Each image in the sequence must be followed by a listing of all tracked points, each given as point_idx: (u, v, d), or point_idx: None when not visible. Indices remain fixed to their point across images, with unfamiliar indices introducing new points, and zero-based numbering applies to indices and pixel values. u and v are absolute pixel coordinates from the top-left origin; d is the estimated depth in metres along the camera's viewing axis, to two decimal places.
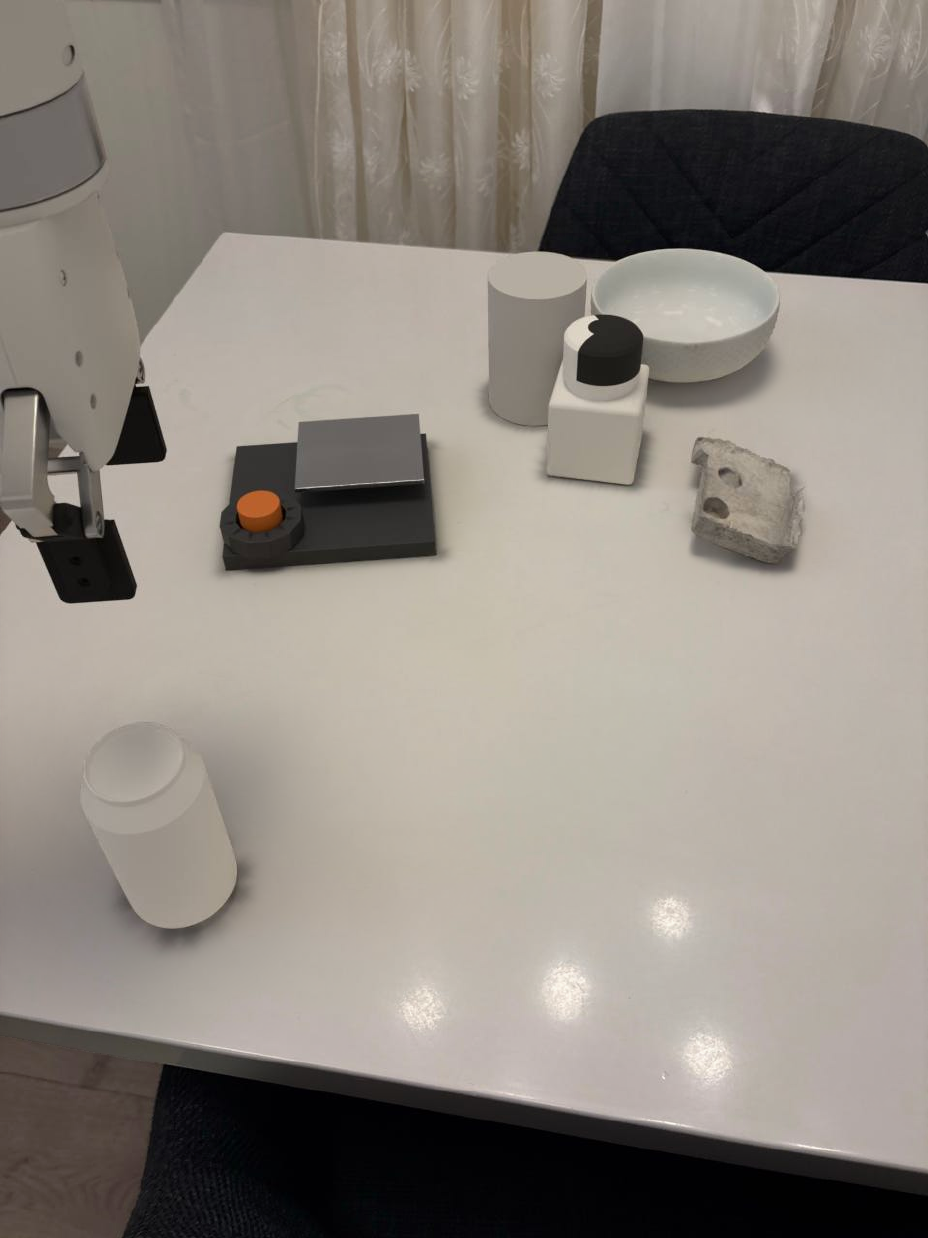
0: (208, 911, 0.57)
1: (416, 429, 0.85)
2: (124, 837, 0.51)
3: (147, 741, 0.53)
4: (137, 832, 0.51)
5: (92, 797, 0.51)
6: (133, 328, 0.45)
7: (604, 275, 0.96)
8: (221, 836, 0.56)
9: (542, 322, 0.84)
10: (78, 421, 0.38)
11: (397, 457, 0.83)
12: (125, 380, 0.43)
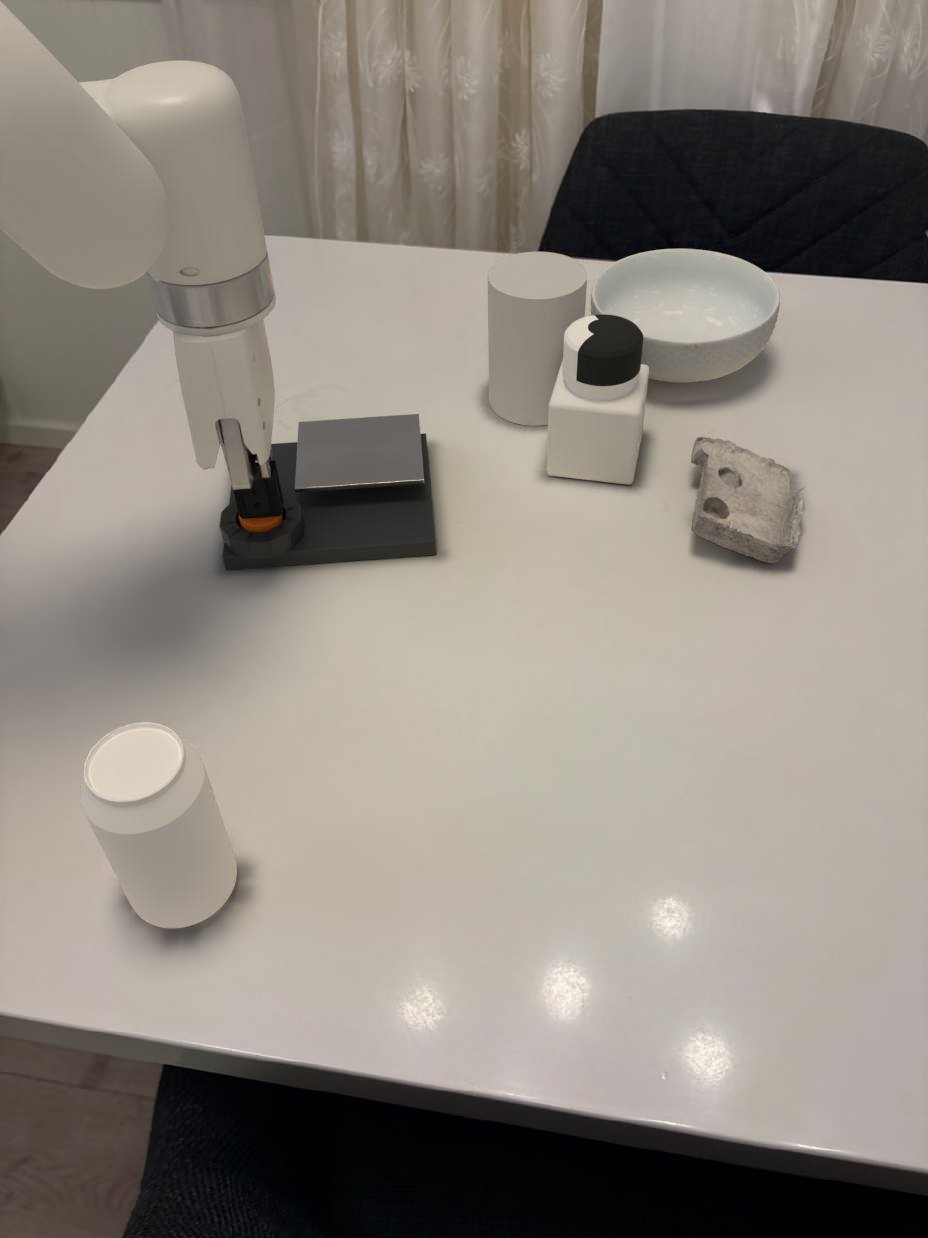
0: (208, 911, 0.57)
1: (416, 429, 0.85)
2: (124, 837, 0.51)
3: (147, 741, 0.53)
4: (137, 832, 0.51)
5: (91, 797, 0.51)
6: (273, 378, 0.74)
7: (604, 275, 0.96)
8: (221, 836, 0.56)
9: (542, 322, 0.84)
10: (256, 436, 0.68)
11: (397, 457, 0.83)
12: (272, 411, 0.72)
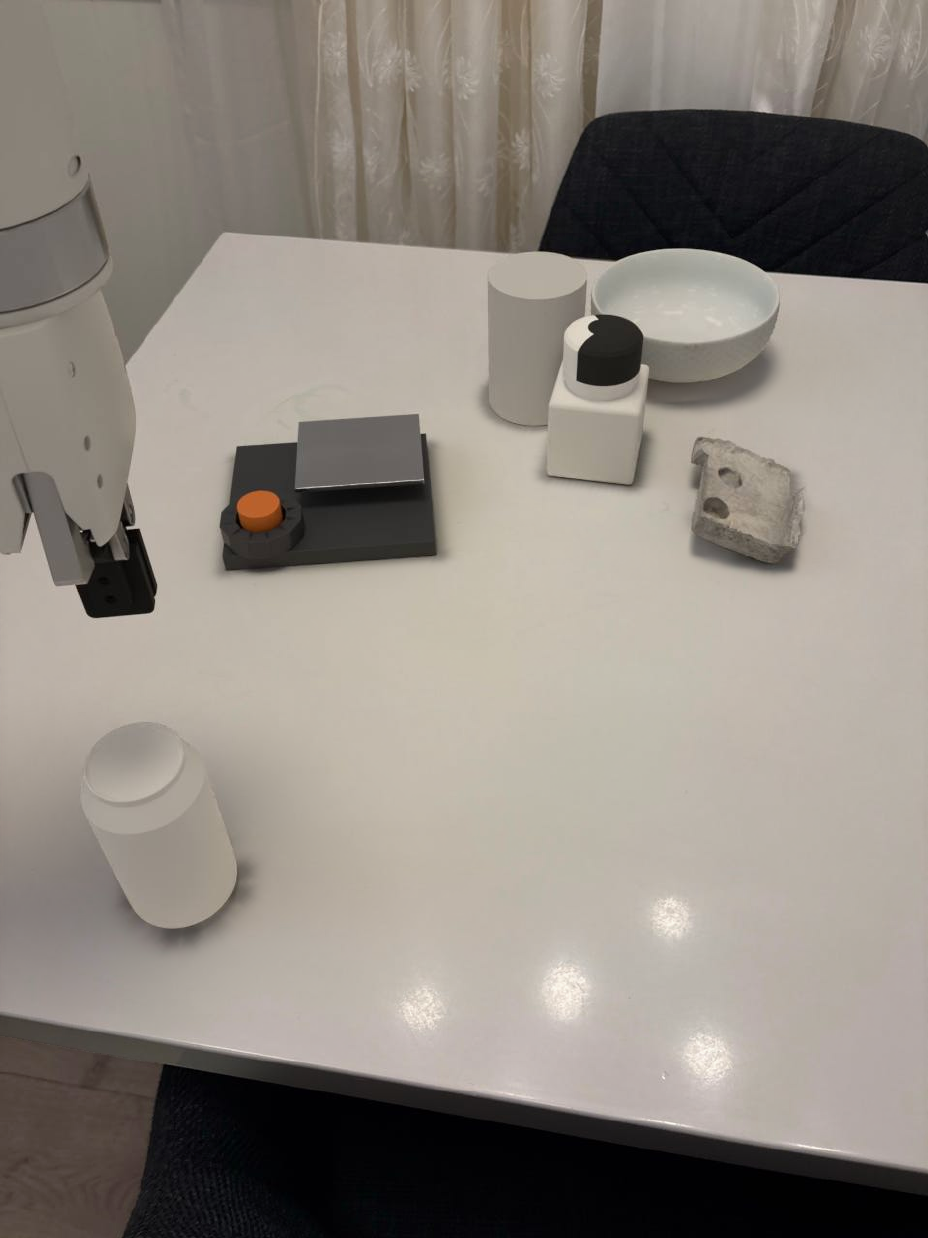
0: (208, 911, 0.57)
1: (416, 429, 0.85)
2: (124, 837, 0.51)
3: (147, 741, 0.53)
4: (137, 833, 0.51)
5: (91, 797, 0.51)
6: (130, 401, 0.47)
7: (604, 275, 0.96)
8: (221, 836, 0.56)
9: (542, 322, 0.84)
10: (86, 501, 0.40)
11: (397, 457, 0.83)
12: (125, 454, 0.45)
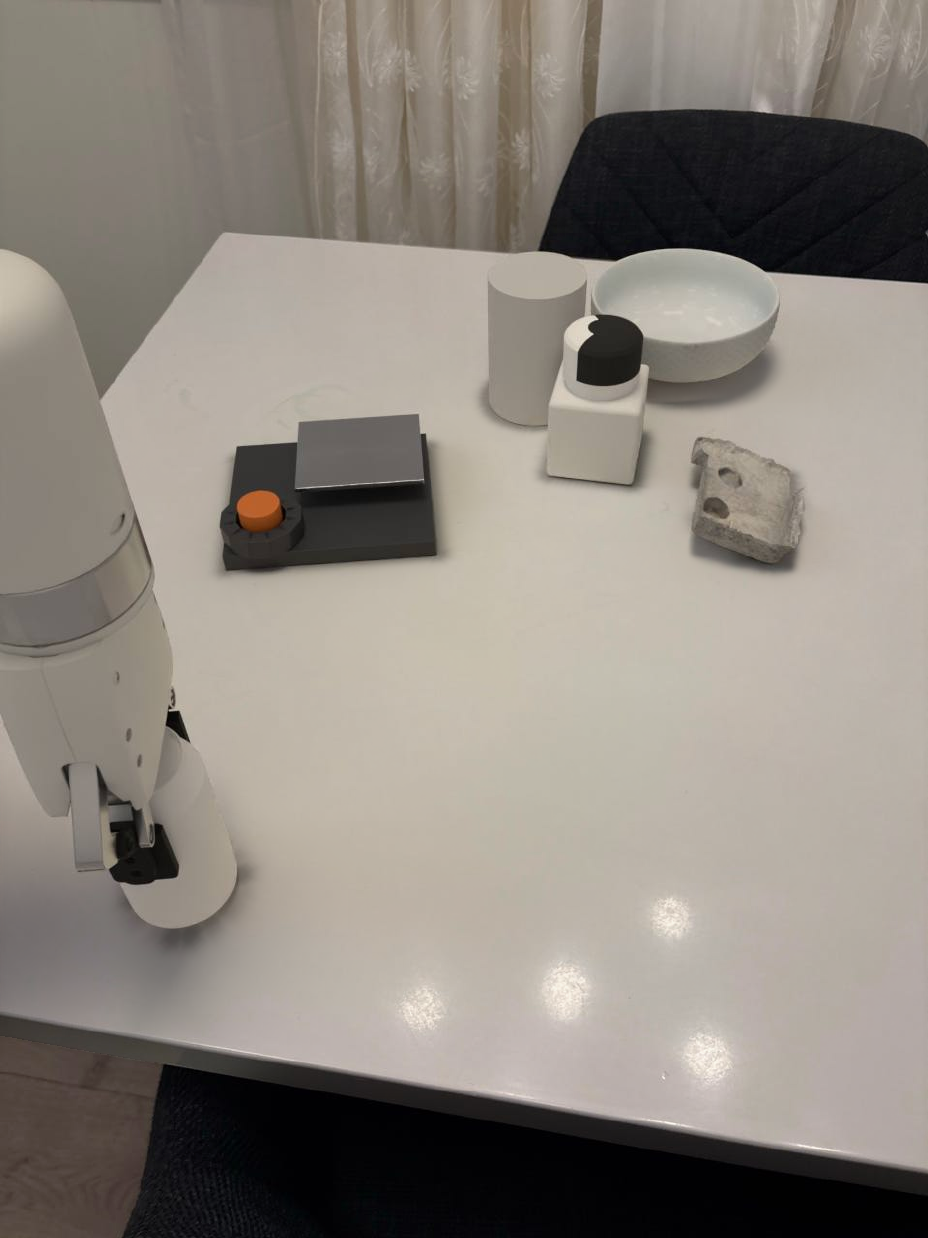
0: (208, 911, 0.57)
1: (416, 429, 0.85)
2: None
3: None
4: None
5: None
6: (168, 654, 0.51)
7: (604, 275, 0.96)
8: (221, 836, 0.56)
9: (542, 322, 0.84)
10: (127, 781, 0.45)
11: (397, 457, 0.83)
12: (163, 712, 0.49)
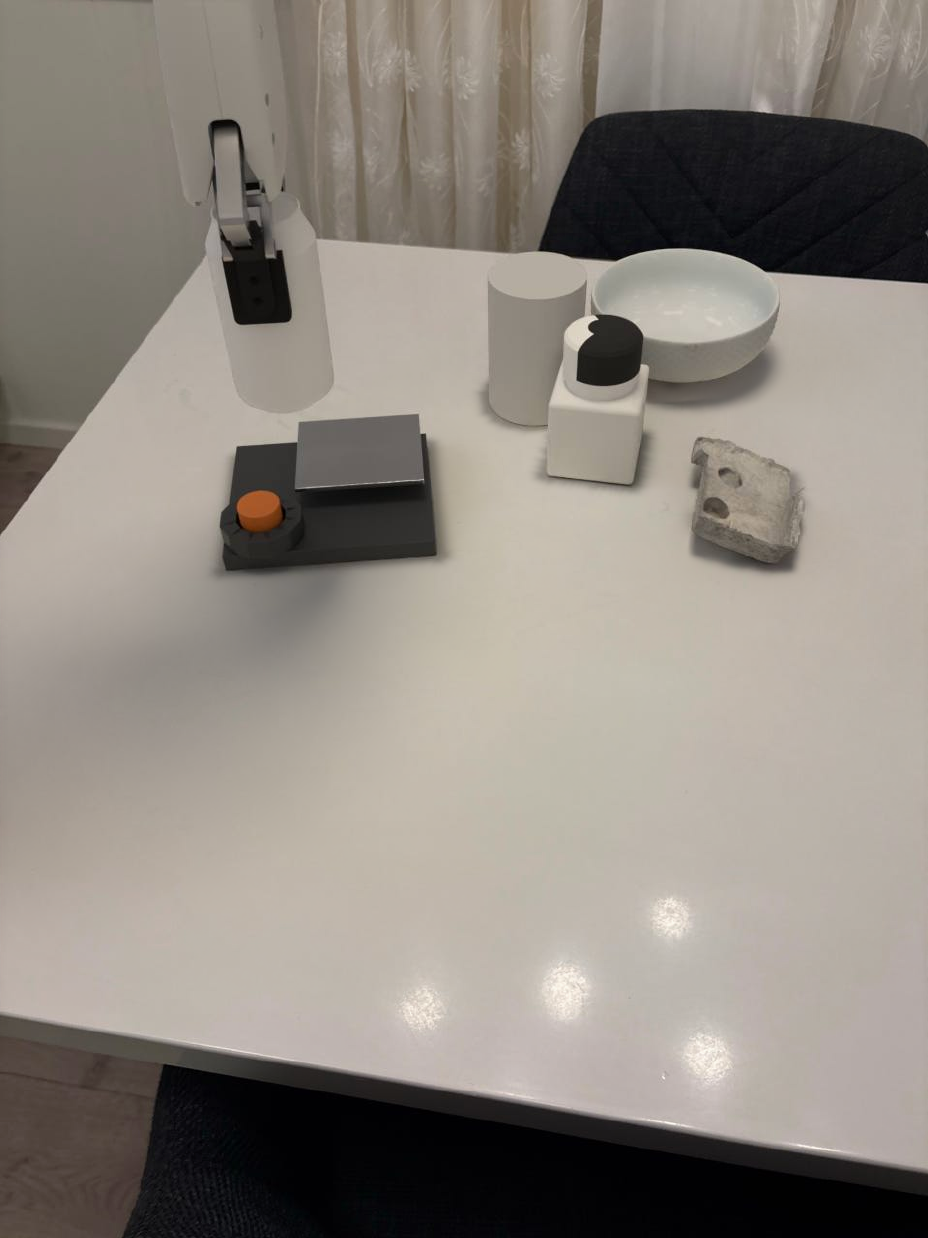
0: (311, 395, 0.63)
1: (416, 429, 0.85)
2: None
3: None
4: None
5: None
6: None
7: (604, 275, 0.96)
8: (325, 317, 0.62)
9: (542, 322, 0.84)
10: (263, 151, 0.51)
11: (397, 457, 0.83)
12: (285, 141, 0.55)
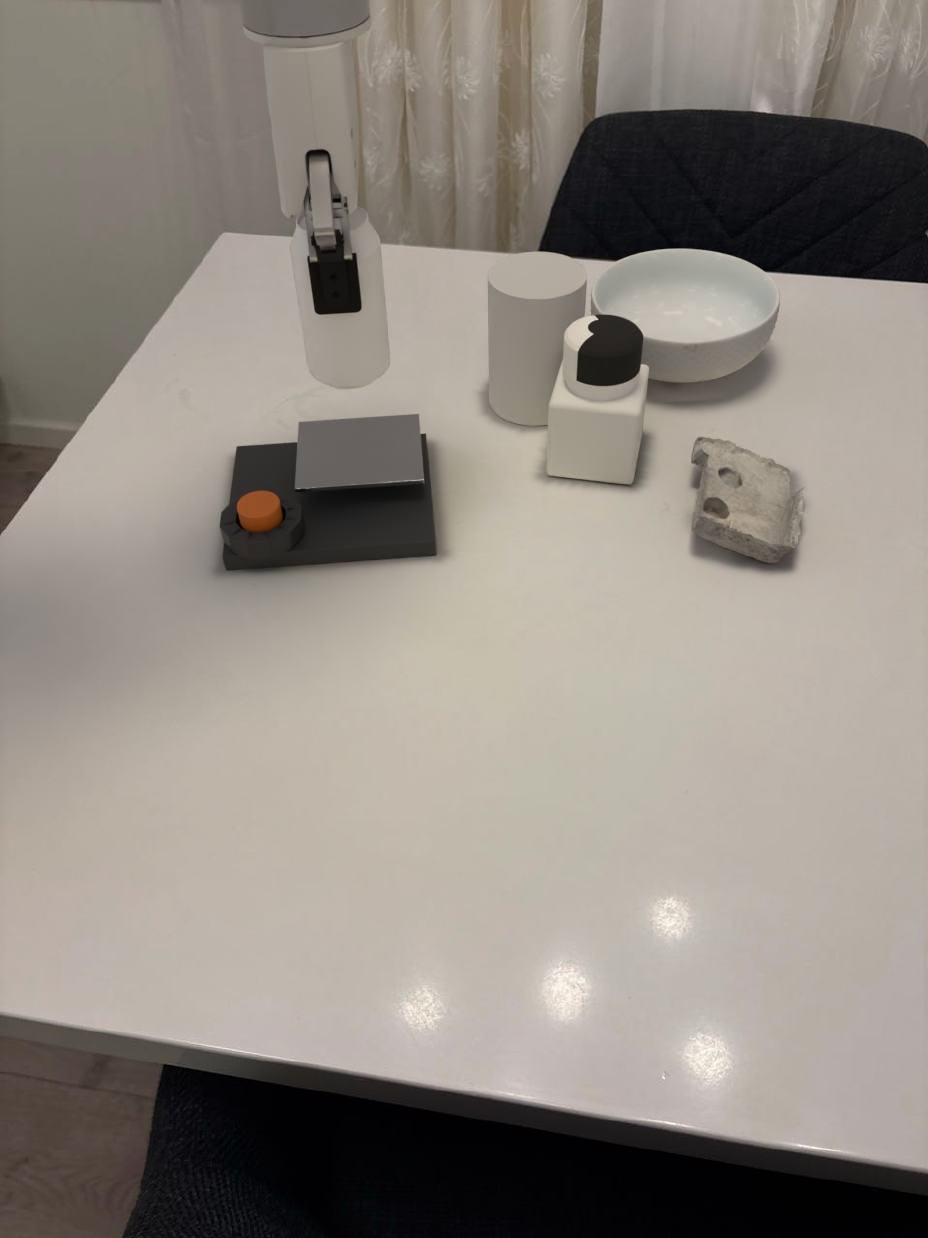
0: (373, 373, 0.76)
1: (416, 429, 0.85)
2: None
3: None
4: None
5: (303, 239, 0.69)
6: None
7: (604, 275, 0.96)
8: (385, 308, 0.75)
9: (542, 322, 0.84)
10: (347, 174, 0.63)
11: (397, 457, 0.83)
12: None
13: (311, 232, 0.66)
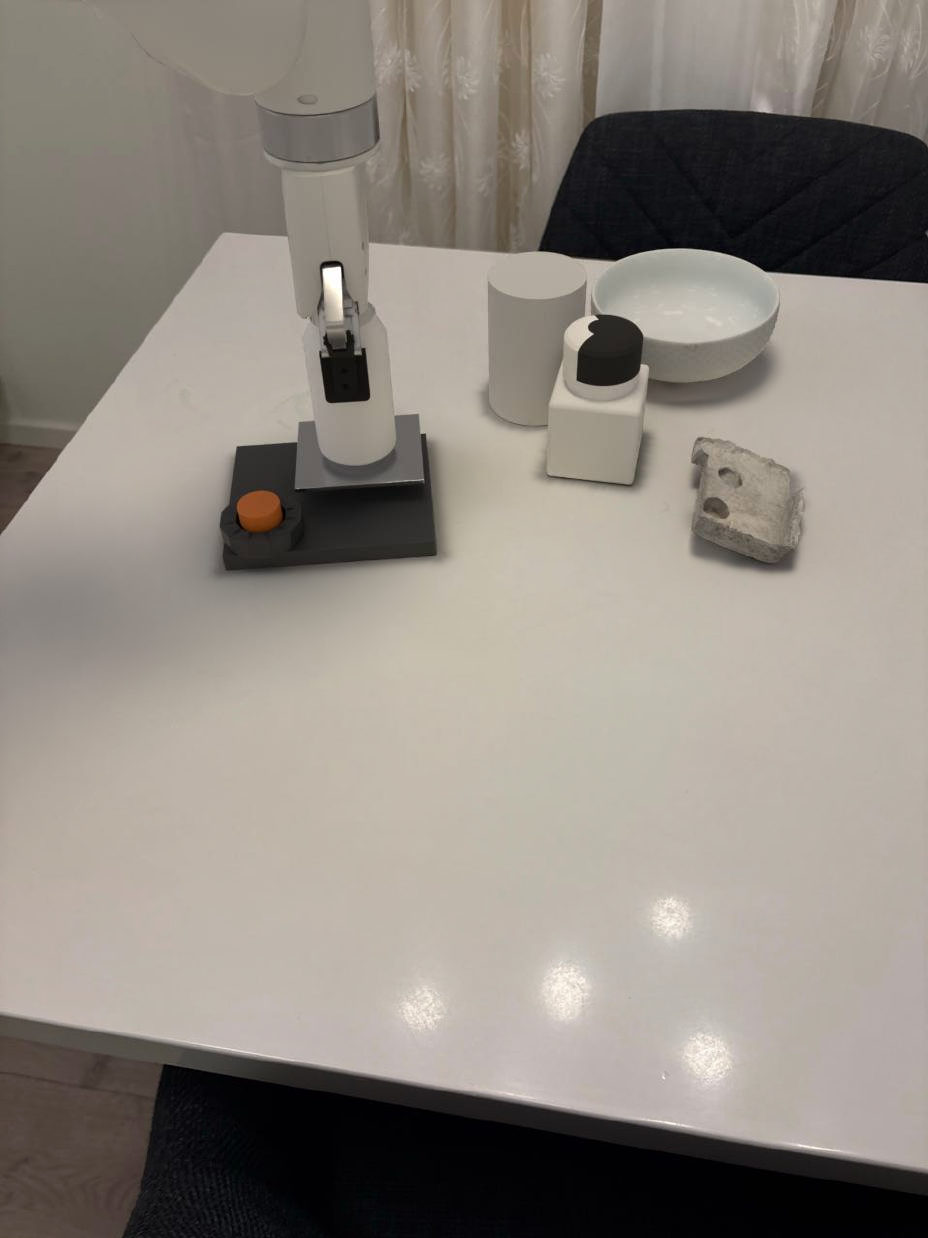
0: (380, 452, 0.81)
1: (416, 429, 0.85)
2: None
3: (348, 306, 0.76)
4: None
5: (315, 334, 0.74)
6: None
7: (604, 275, 0.96)
8: (391, 392, 0.80)
9: (542, 322, 0.84)
10: (359, 281, 0.68)
11: (397, 457, 0.83)
12: None
13: (323, 329, 0.70)
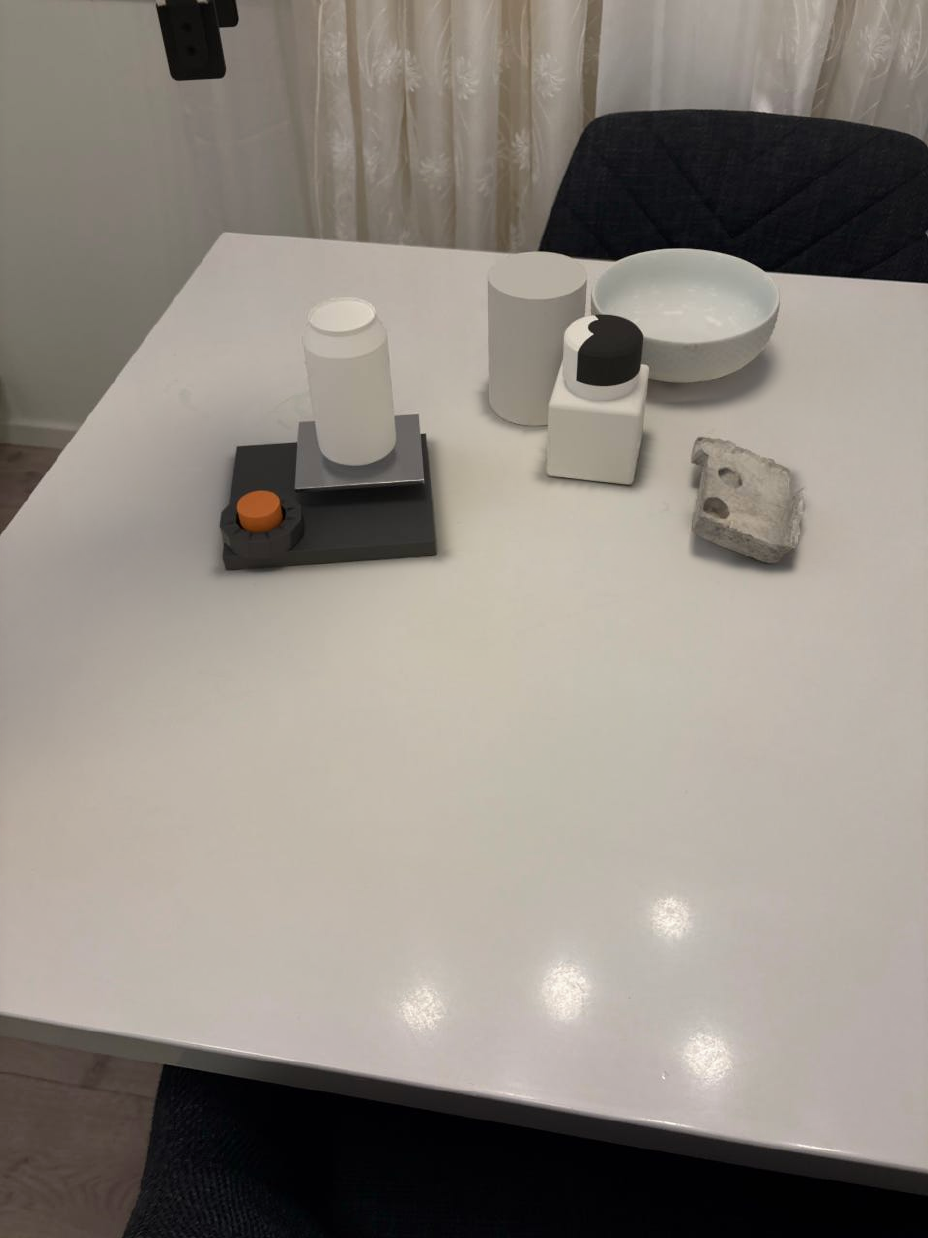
0: (380, 452, 0.81)
1: (416, 429, 0.85)
2: (337, 361, 0.74)
3: (348, 306, 0.76)
4: (347, 357, 0.74)
5: (315, 334, 0.74)
6: None
7: (604, 275, 0.96)
8: (391, 392, 0.80)
9: (542, 322, 0.84)
10: None
11: (397, 457, 0.83)
12: None
13: None
